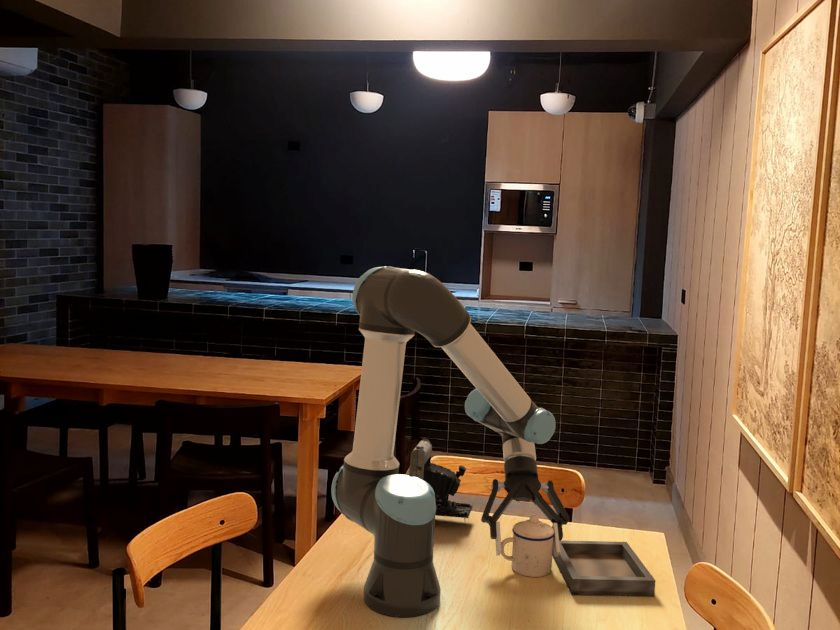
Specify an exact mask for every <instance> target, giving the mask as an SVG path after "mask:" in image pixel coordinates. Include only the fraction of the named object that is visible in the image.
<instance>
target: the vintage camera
mask: <svg viewBox="0 0 840 630" xmlns="http://www.w3.org/2000/svg"><path fill="white" fill-rule="evenodd" d="M432 451H433V445H432V443H431V441H429V439H428V438H427V439H426V438H422V440H420V441H419V442H418V444H417V445H416V446H415V447H414V448H413V450H412V452H411V453H410V460H409V471H408V473H409V474H408V475H409V476H410V477H413V476H414V477H417V478H420V479H422V480H424V481H426V482H427V483H428V484H429V485H430V486H431V487H432V488H433V490H434V493H435V504H436V512H435V517H436V516H437V517H447V518H448V517H450V518H460V519H461V518H463V520H464V521H466V519H469V518H470V514H471V512H472V511H473V510H472V509H473V507H474V506H473V505H471V503H467V502H466V503H465V502H464V503H463V502H456V501H451V500H449V495H450V496H451V497H454V496H455V495H456V494H457V492H458V490H459V488H460V485H461V481H462V479H460V477H463V476H465V473H466V471H467V468H466V467H465V466H464V465H459V467H458V470H457V471H452V470H451V469H450V468H448V467H444V466H442V465H439V464H436V463H433V462H432V461H431V460H432Z"/></svg>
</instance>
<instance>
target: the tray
mask: <svg viewBox="0 0 840 630" xmlns="http://www.w3.org/2000/svg"><path fill="white" fill-rule="evenodd" d="M559 543H560V554H559V556H558V557H555V556H554V547H553V550H552V559H553V560H554V562H555V564H556V566H557V568H558V570H559V573H560V575H561V576H562V579H563V581H564V582H565V583H564V584H566V587H567V589H568V591H569V593H570V594H571V596H578V597H579V596H582V597H583V596H585V597H587V596H588V597H634V598H635V597H638V598H639V597H641V598H643V597H645V598H646V597H647V598H654V597H655V592H656V579H655V578H654V577H653V575H652V574H651V572H650V571H649V570H648V568H647V567H646V566H645V564H644V563H643V562H642V561H641V559H640V558H639V556H638V555H637V553H636V552H635V551H634V549H633V548H632V547H631V546H630V544H629V543H628V542H627V541H603V540H602V541H600V540H599V541H597V540H595V541H594V540H593V541H592V540H561V541H559Z"/></svg>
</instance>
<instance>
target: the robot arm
mask: <svg viewBox="0 0 840 630" xmlns="http://www.w3.org/2000/svg"><path fill="white" fill-rule="evenodd" d="M351 298H352V304H353V307H354V309H355V311H356V313H357V314H358V315H359V324H358V331H359V332H360V333H361V335H363V337H364V346H363V354H362V361H361V362H362V363H361V365H362V366H361V373H360V381H359V389H358V391H359V392H358V401H357V409H356V417H355V428H354V433H353V434H354V437H353V443H352V450H351V452H350V453H348V454H347V455H346V456H345V457H344V459H343V464H342V465H341V467H339V470H338V471H337V472H336V473H335V475H334V476H333V479H332V483H331V490H330V491H331V498H332V501H333V504H334V505H335V507H336V508H337V510H338V511H339V512H340V513H341V514H342V515H343V516H344V517H345V518H346V519H348V520H349V521H351V522H353V523H356V525H358V526H360V527H362V528H363V529H364V530H366V531H368V533H371V535H373V536H374V543H373V544H374V547H373V560H372V562H371V566H370V568H369V572H368V575H367V577H366V579H365V582H364V587H363V601H364V603H365V604H366V605H367V606H368V608H369V609H371V610H372V611H375V612H376V613H378V614H379V613H380V614H382V615H385V616H391V617H397V618H398V617H399V618H407V617H409V618H411V617H417V616H422V615H425V614H427V613H430V612H432V611H434V610H435V609H437V608H438V606H439V604H440V603H441V602H440V601H441V585H440V582H439V577H438V576H437V570H436V568H435V564H434V541H435V540H434V539H435V525H436V524H435V523H436V515H435V512H436V504H435V493H434V490H433V488H432V487H431V486H430V485H429V484H428V483H427V482H426V481H424V480H422V479H420V478H417V477H414V476H413V477H410V476H409V474H401V473H399V470H400V462H399V460H398V459H397V458H396V456H394V454H395V453H394V452H395V444H396V443H395V442H396V436H397V435H396V433H397V425H398V417H399V407H400V399H401V393H402V392H401V391H402V390H401V389H402V381H403V374H404V373H403V372H404V365H405V364H404V363H405V357H406V356H405V353H406V346H407V342H409V341H410V340H411V339H412V338H413V337H414V336H415V333H418V334H420V335H422V336H423V337H424V338H425V339H427V341H429V343H430V344H431V345H432V346H433V347H434V348H441V349H442V350H443V351H444V353H446V354H445V355H447V356H448V357H449V358H450V360H452V362H453V363H454V364H455V366H457V368H458V369H459V370H460V371H461V373H463V375H464V376H465V377H466V379H468V381H469V382H470V383H471V384H472V385H473V386H474V387H475V389H473V390H471V391H470V393H468V395H467V398H466V400H465V401H464V411H465V414H466V415H467V416H468V417H469V418H471V419H472V420H473V421H474V422H478V423H479V424H481V425H484V426H485V427H487V428H489V429H491V430H493V432H496V433H497V434H499V435H501V440H502V441H501V444H502V452H503V453H502V454H503V455H502V456H503V462H504V464H503V467H504V468H503V470H504V481H499V480H498V479H497V478H495V479H493V480H492V482H491V493H490V494H489V497H488V500H487V501H486V502H487V503H486V504H485V507H484V510H483V512H482V515H481V519H480V520H481V521H480V522H481V523H482V524H483V523H485V524H488V526H489V531H490V532H489V534H490V539H491V540H495V551H496V556H501V551H502V548H501V542H502V539H501V538H502V535H501V522H500V521H499V519H500V517H502V515H503V513H504V512H505V511H506V509H507V508H508V506H510V504H511V503H512V502H513V500H514V501H515V502H528V503H529V502H532V503H533V504H534V505H535V506H537V508H539V510H540V511H541V512H542V513H543V514H544V515H545V517H546V518H547V519H548V520H549V521H550V522H551V524H552V526H551V527H552V528H553V530H554V533H555V535H554V537H553V547H554V556H555V557H558V556H559V554H560V543H559V541H563V538H564V532H563V525H565V526H566V525H567V524H568V523H569V521H570V516H569V514H568V512H567V510H566V509H565V507H564V505H563V503H562V501H561V500H560V497H559V496H558V494H557V492H556V490H555V488H554V487H555V486H554V482H553V481H552V480H548V481H547V482H541V481H540V479H539V471H538V464H537V461H536V460H537V454H536V446H535V444H537V445H543V444H545V443H547V442H549V441H550V440H551V438H552V437H553V435H554V434H555V431H556V427H557V426H556V419H555V415H553V413H552V412H550V411H549V410H546V409H545V408H543V407H539V406H537V404H536V403H535V402H534V401H533V400H532V399H531V397H530V396H529V395H528V394H527V392H526V391H525V390H524V389H523V388H522V386H521V385H520V384H519V382H518V381H517V380H516V379H515V377H514V376H513V375H512V374H511V373H510V371H509V370H508V368H506V366H505V365H504V364H503V362H502V361H501V360H500V359H499V358H498V356H497V355H496V353H495V352H494V351H493V350H492V349H491V347H490V346H489V345H488V343H487V342H486V341H485V340H484V338H483V337H482V336H481V335H480V333H479V332H478V331H477V330H476V329H475V327H474V326H473V325H472V323H471V322H472V316H471V315H470V313H469V312H468V310H467V309H466V308H465V307H464V305H463V304H462V303H461V302H460V301H459V299H458V298H457V297H456V295H454V294H453V293H452V291H451V290H449V288H448V287H447V286H445V284H444V283H442V282H441V281H440V280H439V279H438V278H436V277H435V276H433V275H432V274H430V273H428V272H426V271H423V270H419V269H408V268H400V267H394V266H390V265H389V266H386V265H385V266H377V267H373V268H370V269H368V270H367V271H366V272H364V273H363V274H362V275H360V277H359V278H358V279H357V280H356V283H355V284H354V287H353V290H352V297H351ZM502 488H503V489H504V490H505V492H506V493H507V495H506V496H505V498H504V499H503V500H502V502H501V503H500V505H498V507H497V508H496V509H495V511H494V513H493V514H492V516H491V515H490V513H491V510H492V508H493V505H494V502H495V500H496V497H497V493H498V492H499V493H500V491H501V490H502ZM541 489H542V491H543V492H544V493H545V494H546V495H547V498H548V500H549V501H550V503H551V505H552V507H553V508H552V507H551V505H550V504H549V503H548V502H547V501H546V499H544V497H543V495H542V493H540V490H541Z"/></svg>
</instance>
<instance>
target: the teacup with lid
mask: <svg viewBox="0 0 840 630" xmlns="http://www.w3.org/2000/svg"><path fill="white" fill-rule="evenodd" d="M554 535H555V533H554V530H553V528H552V526H551V525H549V524H547V523H545V522H543V521H541V520H540V519H539V517H538V516H535V515H531V516H530V517H529V519H527V520H521V521H518V522H517V523H515V524H514V525H513V527H512V537H506V538H504V539H503V540H501V548H502V551H501V554H500V556H502V557H503V558H504V560H507V561H511V568H512V569H513V571H515V573H517V574H519V575H522V576H525V577H529V578H530V577H531V578H540V577H544V576H547V575H549V574H550V573H551V572H552V568H553V567H552V565H553V556H552V550H553V537H554ZM508 543H512V547H511V549H512V551H511V555H506V553H505V546H506V545H507V544H508Z"/></svg>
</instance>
